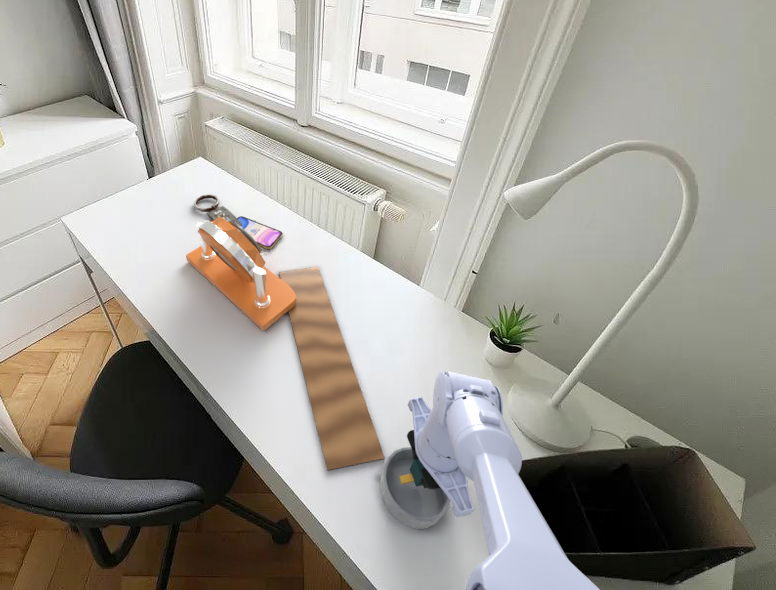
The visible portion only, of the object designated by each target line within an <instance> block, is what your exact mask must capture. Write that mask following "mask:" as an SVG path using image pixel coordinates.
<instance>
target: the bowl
mask: <svg viewBox="0 0 776 590" xmlns="http://www.w3.org/2000/svg"><path fill="white" fill-rule="evenodd" d="M412 464H413V451H412V448H411V446H407V447H400V448H398V449H396V450H394V451H393V452H392V453H390V455H389V456H388V457H387V459H386V461H385V463H384V466H383V468H382V471H381V474H380V479H379V487H380V488H379V489H380V494H381V497H382V500H383V502H384V505H385V506H386V508H387V510H388V511H389V513H390V514H391V515H392V516H393V517H394V518H395V519H396V520H397V521H398V522H400V523H401V524H403V525H404V526H406V527H409V528H412V529H417V530H425V529H428V528H430V527H432V526H434V525H436V524H438V522H439V521H440V519H441V518H442V517H443V516H444V514H445V513H446V512H447V511H448V509H449V507H450V503H451V501H450V499H449V498H448V496H447V495H446V494H445V493H444V491H443V490H442V489H441V488H438V489H428V488H424V487H423V485H422V486H418V487H416V485H415V483H414V482H410V483H406V484H401V482H400V479H399V476H403V475H407V474H411V472H410V468H411V466H412Z"/></svg>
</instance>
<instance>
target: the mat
mask: <svg viewBox="0 0 776 590" xmlns="http://www.w3.org/2000/svg"><path fill="white" fill-rule="evenodd" d="M278 275H279V278H280V279H281V280H282V281H284V282H285V283H286V284H287V285H289V286H290V287H291V288H292V290H293V291H294V292H295V295H296V304H295V306H294V307H293V308H291V309H290V310H289V311H288V315H289V320H290V324H291V327H292V332H293V336H294V340H295V343H296V348H297V352H298V355H299V361H300V364H301V368H302V373H303V377H304V380H305V381H304V382H305V385H306V389H307V394H308V397H309V402H310V405H311V409H312V414H313V417H314V418H313V419H314V421H315V426H316V429H317V434H318V438H319V442H320V446H321V450H322V454H323V458H324V459H323V460H324V463H325V467H326V471H333V470H338V469H341V468H342V469H343V468H347V467H352V466H356V465H361V464H365V463H371V462H375V461H380V460H384V459H385V455H384V452H383V449H382V447H381V443H380V441H379V438H378V435H377V432H376V429H375V427H374V422H373V420H372V418H371V415H370V411H369V408H368V406H367V403H366V400H365V397H364V395H363V392H362V389H361V386H360V383H359V380H358V377H357V374H356V372H355V368H354V365H353V363H352V361H351V360H352V359H351V358H350V354H349V351H348V349H347V346H346V343H345V340H344V338H343V334H342V331H341V328H340V326H339V323H338V320H337V317H336V315H335V312H334V308H333V305H332V303H331V300H330V297H329V295H328V291H327V289H326V286H325V283H324V280H323V276H322V275H321V271H320V268H319V266H312V267H311V266H310V267H305V268H299V269H298V268H297V269H292V270H285V271H279V272H278Z"/></svg>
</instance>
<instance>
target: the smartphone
mask: <svg viewBox="0 0 776 590" xmlns="http://www.w3.org/2000/svg"><path fill="white" fill-rule="evenodd" d="M236 218H237V219H238V220H239V221H240V223H241V224H242V226H241V227H242V228H243V229H244V230H245V231H247V232H248V233H249V234H250V235H251V237H252V238H253V239H254V240H255V241H256V242H257V244H258V245H259V247H260V248H263V249H266V250H272V249H273V247H274V246H275V245H276V244H277V243H278V242H279V240H280V239H282V237H283V235H284V233H283V232H282V230H279V229H276V228H274V227H271V226H268V225H266V224H264V223H262V222H258V221H256V220H253V219H251V218H248V217H246V216H244V215H243V216H238V217H236Z"/></svg>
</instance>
